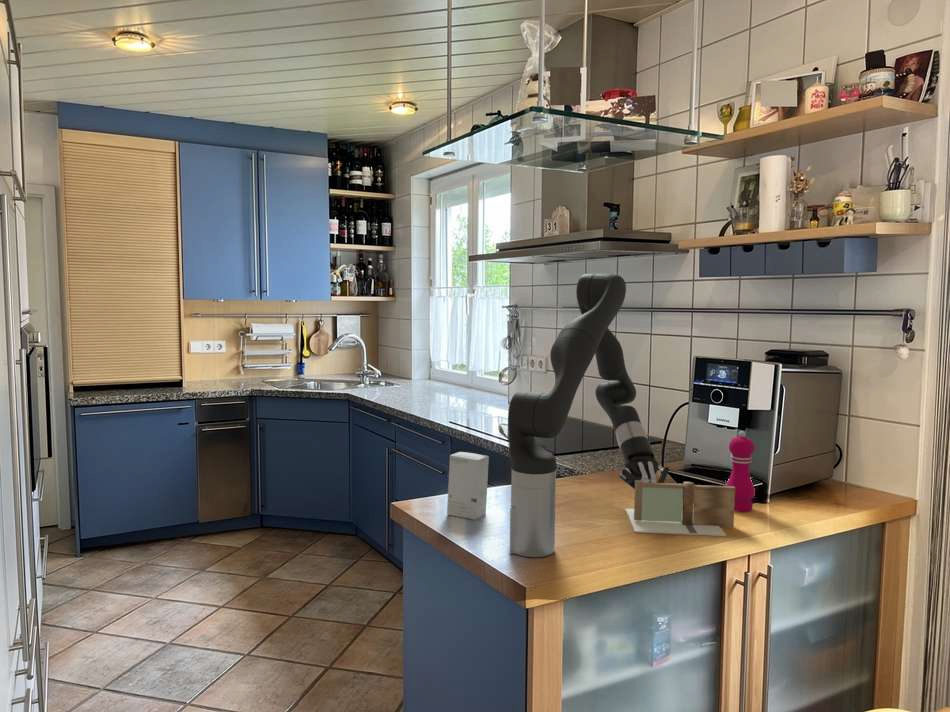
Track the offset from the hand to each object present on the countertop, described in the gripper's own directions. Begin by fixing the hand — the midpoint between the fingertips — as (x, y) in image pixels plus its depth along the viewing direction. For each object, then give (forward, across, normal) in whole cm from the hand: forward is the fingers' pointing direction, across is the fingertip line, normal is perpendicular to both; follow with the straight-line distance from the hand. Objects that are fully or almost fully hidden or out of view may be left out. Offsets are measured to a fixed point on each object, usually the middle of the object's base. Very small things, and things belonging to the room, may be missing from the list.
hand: (655, 504), depth 161 cm
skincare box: (-7, -43, +12) cm, 45 cm away
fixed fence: (+6, +11, 0) cm, 13 cm away
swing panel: (+3, 0, +2) cm, 4 cm away
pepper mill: (-1, +26, +8) cm, 27 cm away
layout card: (+4, +4, +2) cm, 6 cm away
